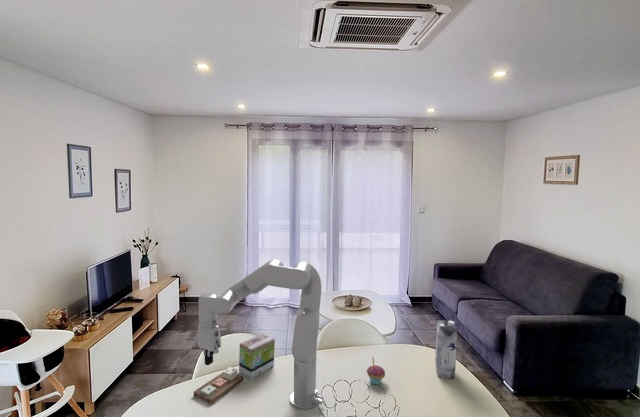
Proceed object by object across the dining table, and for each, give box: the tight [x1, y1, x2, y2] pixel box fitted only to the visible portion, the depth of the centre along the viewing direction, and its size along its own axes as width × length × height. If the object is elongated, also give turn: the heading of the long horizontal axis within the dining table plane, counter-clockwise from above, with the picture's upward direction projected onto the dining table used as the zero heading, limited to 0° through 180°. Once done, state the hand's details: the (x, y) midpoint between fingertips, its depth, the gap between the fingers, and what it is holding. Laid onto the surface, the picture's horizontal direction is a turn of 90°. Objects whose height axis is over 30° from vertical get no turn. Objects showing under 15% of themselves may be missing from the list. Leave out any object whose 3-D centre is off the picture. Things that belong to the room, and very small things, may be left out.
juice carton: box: [434, 319, 458, 380], centre depth 165 cm, size 9×10×27 cm
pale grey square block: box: [201, 385, 217, 396], centre depth 145 cm, size 5×5×3 cm
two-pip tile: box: [222, 366, 238, 381], centre depth 157 cm, size 5×5×3 cm
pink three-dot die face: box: [212, 378, 228, 388], centre depth 151 cm, size 5×5×3 cm
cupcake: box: [366, 355, 386, 385], centre depth 158 cm, size 9×8×12 cm
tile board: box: [193, 372, 245, 405], centre depth 151 cm, size 11×20×2 cm, turn 151°
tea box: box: [238, 333, 276, 380], centre depth 166 cm, size 15×10×15 cm
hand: (209, 363), depth 144 cm, fingers closed
